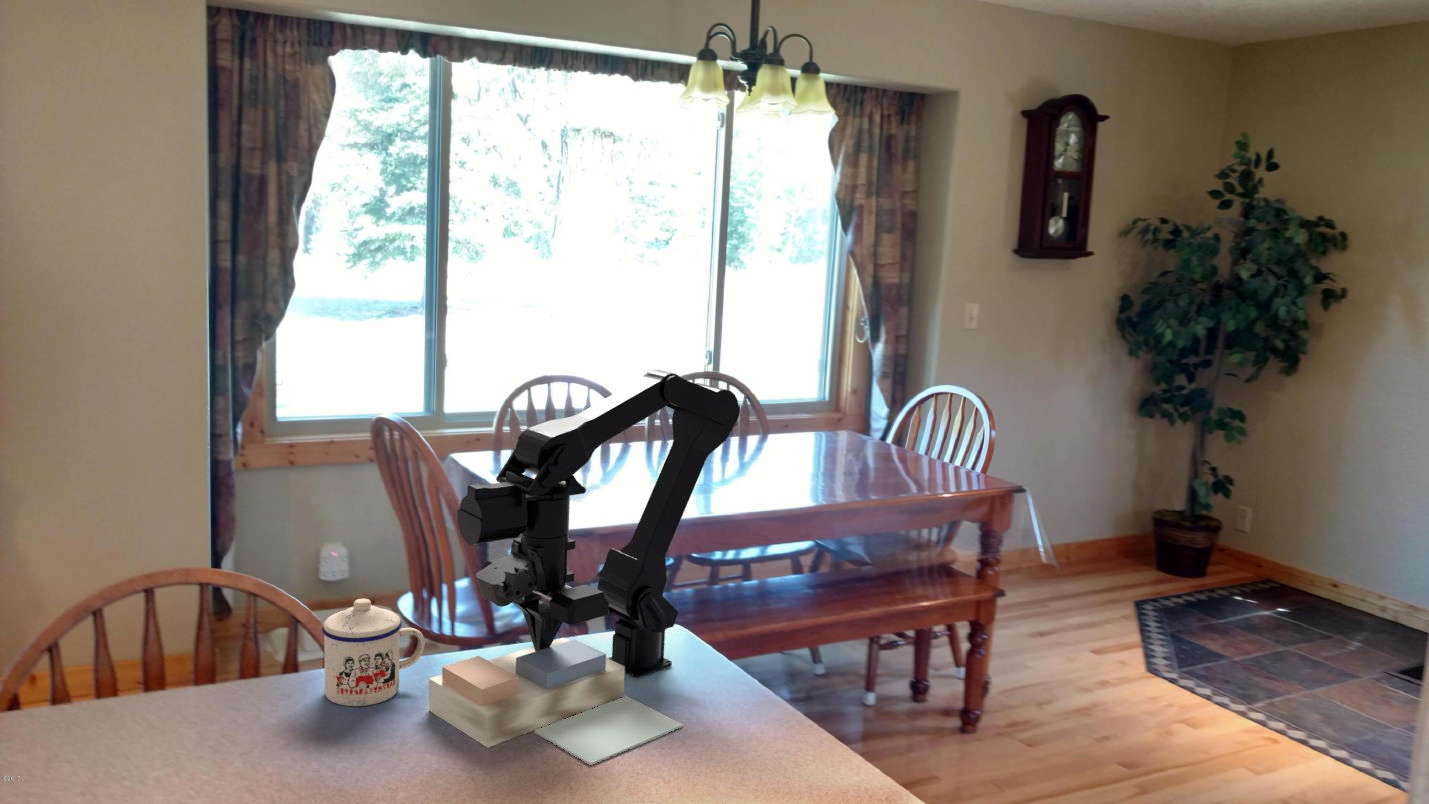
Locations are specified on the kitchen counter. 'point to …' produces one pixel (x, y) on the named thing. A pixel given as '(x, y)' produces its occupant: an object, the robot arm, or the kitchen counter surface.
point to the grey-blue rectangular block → (560, 664)
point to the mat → (608, 730)
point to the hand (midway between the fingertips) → (541, 654)
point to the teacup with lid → (364, 654)
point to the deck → (524, 702)
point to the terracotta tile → (480, 680)
